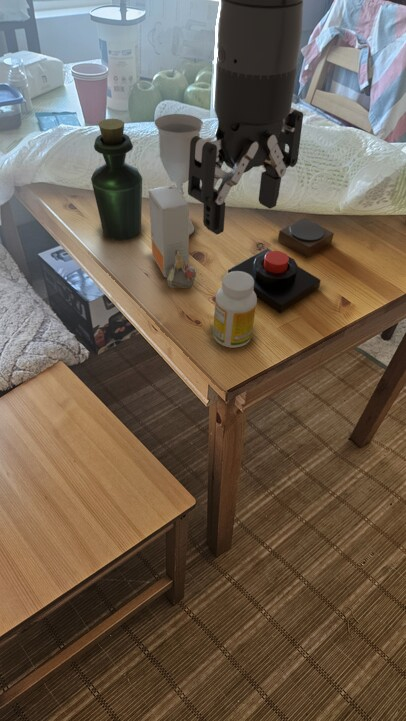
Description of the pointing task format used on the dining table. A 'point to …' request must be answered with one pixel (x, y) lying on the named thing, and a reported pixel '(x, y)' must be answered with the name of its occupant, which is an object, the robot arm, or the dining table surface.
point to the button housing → (278, 282)
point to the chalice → (177, 146)
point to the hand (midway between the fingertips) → (241, 217)
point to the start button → (276, 262)
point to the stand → (305, 237)
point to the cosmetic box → (168, 226)
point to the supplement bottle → (235, 310)
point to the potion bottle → (117, 183)
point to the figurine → (180, 273)
